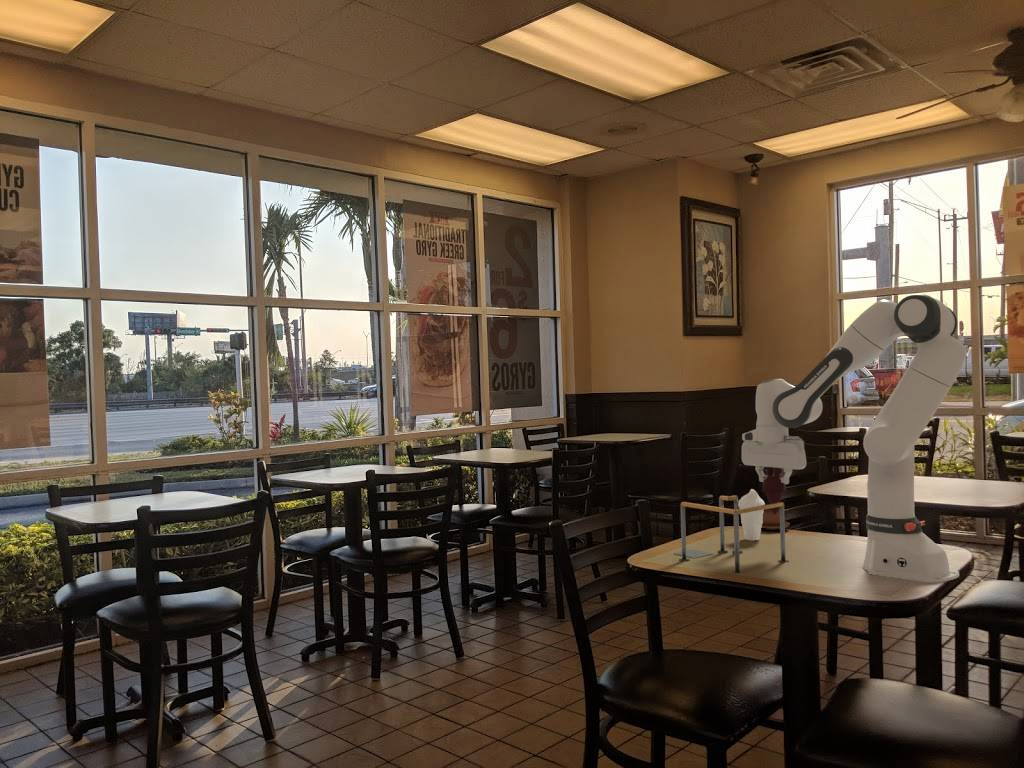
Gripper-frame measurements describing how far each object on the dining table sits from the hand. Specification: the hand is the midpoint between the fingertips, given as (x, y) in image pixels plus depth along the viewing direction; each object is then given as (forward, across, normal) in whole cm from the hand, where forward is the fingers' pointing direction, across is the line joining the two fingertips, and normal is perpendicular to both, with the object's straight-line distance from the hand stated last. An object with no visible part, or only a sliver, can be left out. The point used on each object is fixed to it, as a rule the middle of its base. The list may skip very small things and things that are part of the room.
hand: (773, 482), depth 231 cm
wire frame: (+21, +2, +16) cm, 26 cm away
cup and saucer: (+21, +26, -31) cm, 45 cm away
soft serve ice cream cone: (+21, +18, -12) cm, 30 cm away
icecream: (+10, 0, 0) cm, 10 cm away
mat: (+21, +15, +18) cm, 31 cm away
